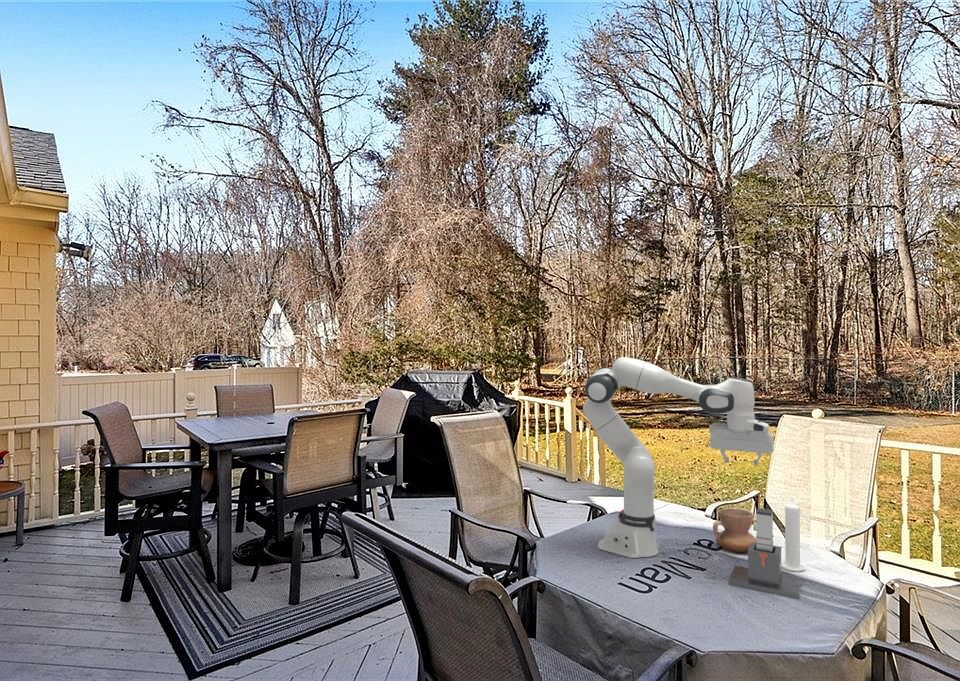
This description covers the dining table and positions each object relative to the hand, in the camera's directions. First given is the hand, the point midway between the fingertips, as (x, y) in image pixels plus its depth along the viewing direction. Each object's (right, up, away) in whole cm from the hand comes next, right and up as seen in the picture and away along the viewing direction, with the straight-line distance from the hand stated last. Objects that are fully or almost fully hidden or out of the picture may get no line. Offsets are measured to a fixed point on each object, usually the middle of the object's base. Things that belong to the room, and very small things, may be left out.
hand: (741, 463), depth 198 cm
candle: (+19, -37, +1) cm, 42 cm away
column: (+3, -29, -11) cm, 31 cm away
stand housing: (+3, -37, -11) cm, 39 cm away
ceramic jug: (+7, -37, +20) cm, 43 cm away
